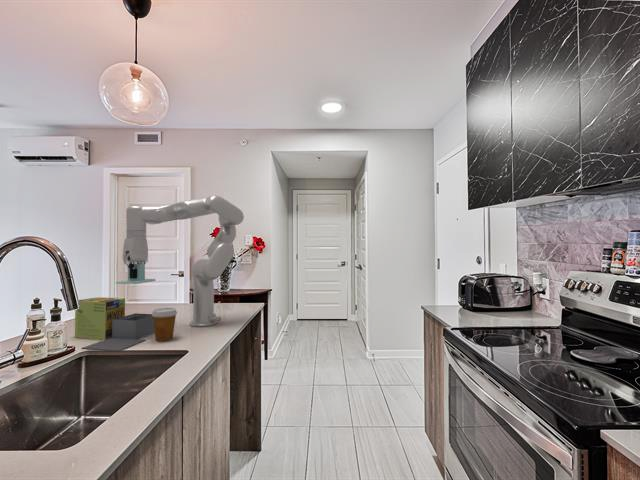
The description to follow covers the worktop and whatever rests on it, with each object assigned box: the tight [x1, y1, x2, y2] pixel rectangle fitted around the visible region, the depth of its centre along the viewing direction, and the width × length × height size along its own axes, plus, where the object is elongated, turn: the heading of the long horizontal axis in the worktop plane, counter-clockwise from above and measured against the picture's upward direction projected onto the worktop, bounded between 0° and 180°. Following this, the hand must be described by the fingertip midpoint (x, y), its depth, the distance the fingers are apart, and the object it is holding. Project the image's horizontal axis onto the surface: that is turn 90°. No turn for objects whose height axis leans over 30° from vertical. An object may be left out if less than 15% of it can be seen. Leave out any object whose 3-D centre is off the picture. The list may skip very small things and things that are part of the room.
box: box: [112, 312, 155, 339], centre depth 141 cm, size 11×13×8 cm
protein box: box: [74, 296, 126, 341], centre depth 140 cm, size 10×15×16 cm
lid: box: [115, 263, 156, 285], centre depth 141 cm, size 10×12×8 cm
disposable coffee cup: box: [151, 307, 178, 342], centre depth 135 cm, size 10×10×12 cm
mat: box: [81, 338, 147, 353], centre depth 128 cm, size 16×14×1 cm
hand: (136, 277), depth 141 cm, fingers closed on lid, 2 cm apart
